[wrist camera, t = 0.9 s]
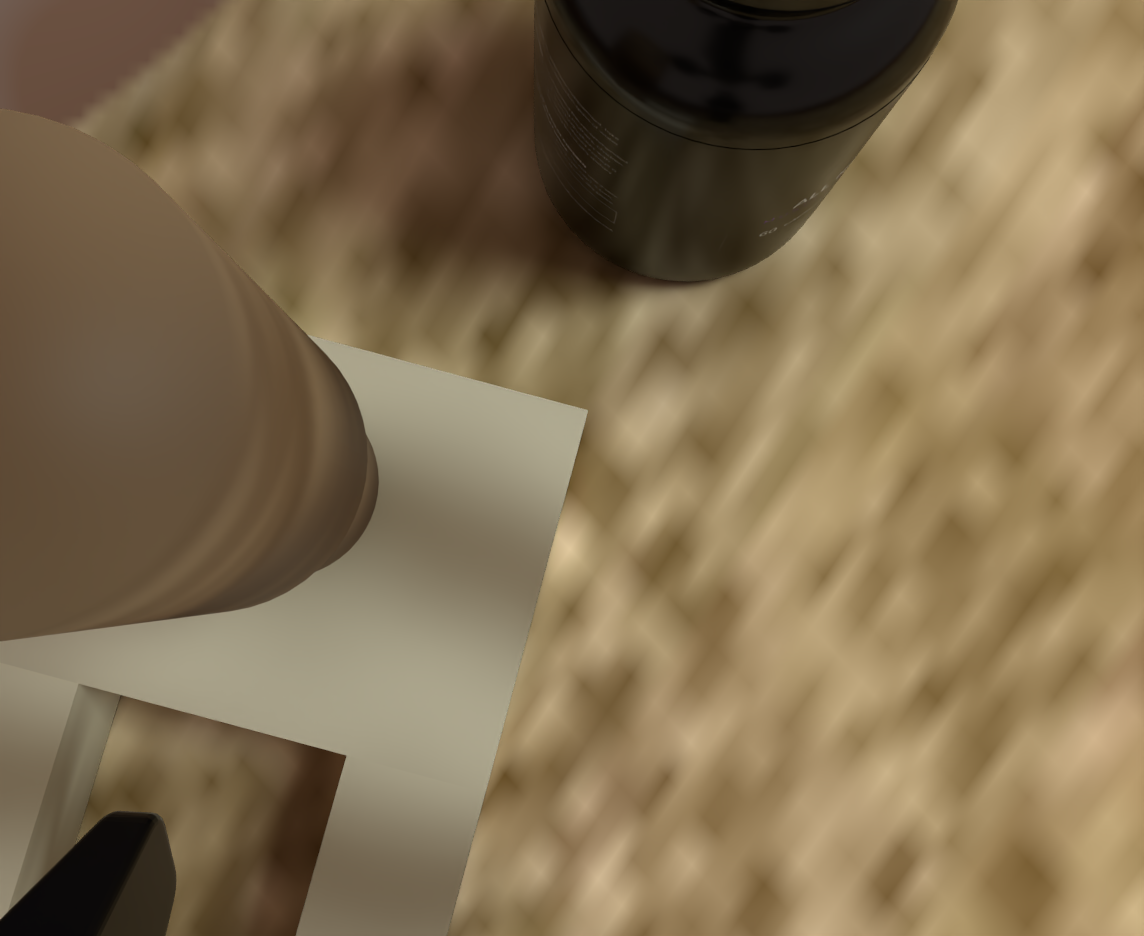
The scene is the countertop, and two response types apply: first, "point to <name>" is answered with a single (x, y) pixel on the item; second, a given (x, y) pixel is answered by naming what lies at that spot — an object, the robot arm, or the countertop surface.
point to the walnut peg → (152, 407)
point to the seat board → (337, 656)
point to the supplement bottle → (712, 118)
